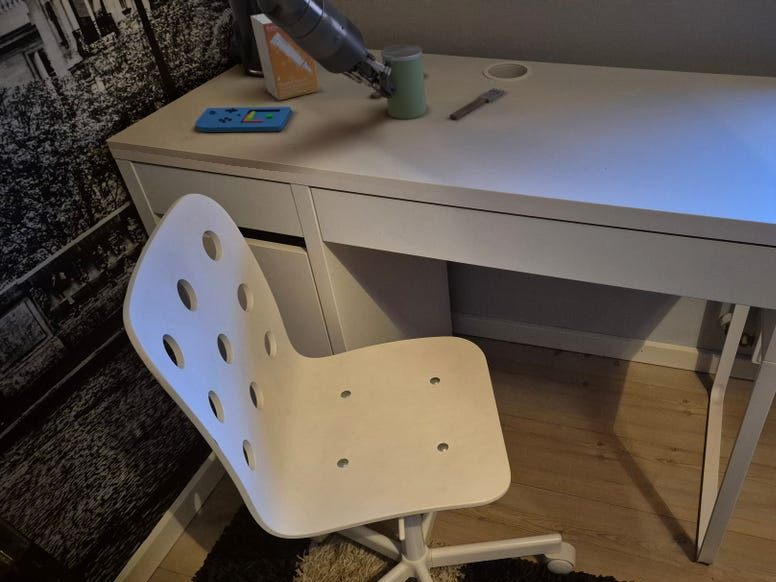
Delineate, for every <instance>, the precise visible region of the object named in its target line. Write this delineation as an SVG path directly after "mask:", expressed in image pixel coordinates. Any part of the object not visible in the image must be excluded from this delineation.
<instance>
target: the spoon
mask: <svg viewBox="0 0 776 582" xmlns="http://www.w3.org/2000/svg"><path fill="white" fill-rule="evenodd" d="M423 74H424V75H425V72H424V71H423ZM369 97H370V98H371V99H375V100H378V99H379V98H381V97H382V96H381V95H380V94H379V93H378V92H377V91H376V90H375V91H374V92H372V93H370V94H369Z"/></svg>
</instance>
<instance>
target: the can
mask: <svg viewBox="0 0 776 582" xmlns="http://www.w3.org/2000/svg"><path fill="white" fill-rule="evenodd" d="M380 56H381V61H382V63H381V64H383V63H386V61H387V62H391V63H392V64H393V72H392V76H391V79H390V82H391V83H392V84H393V85H394V86H395V88H396V89H395V92H394V94H393V97H392V99H388V98H386V106H387V113H388V115H389V116H390V117H392V118H394V119H398V120H410V119H411V120H412V119H417V118H419V117H421V116H423V115H424V114H425V115H426V112H427V100H426V87H425V73H424V74H423V72H424V64H423V62H424V61H423V49H422V47H421V46H418V45H416V44H408V43H401V44H399V43H398V44H393V45H388V46H386V47H384V48H382V49H381V51H380Z"/></svg>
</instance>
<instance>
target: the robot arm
mask: <svg viewBox="0 0 776 582" xmlns="http://www.w3.org/2000/svg"><path fill="white" fill-rule="evenodd" d="M228 2H229V3H228V4H229V6H230V10H231V14H232V18H233V19H232V21H231V27H232V30H233V35H232V37H231V39H230V41H229V42H230V43H229V44H230V49H229V53H230V54H229V55H230V56H231V58H232V60H234V62H235V63H236V64H237V66H238V67H240V66H242V70H243V74H244V75H245V76H256V77H264V73H263V69H262V65H261V60H260V56H259V51H258V47H257V43H256V38H255V34H254V30H253V25H252V21H251V16H254V15H259V14H264V15H265V16H266V17H267V18H268V19H269V20H270V21H272V22H273V23H274V24H275V25H276V26H277V27H279V28H280V29H281V30H282V31H283V32H285V33H286V34H287V35H288V36H289V37H290V38H291V39H292V40H293V41H294V42H295V43H296V44H297V45H298V46H299V47H300V48H301V49H302V50H303V51H304V52H306V53H307V54H308V55H309V56H310V57H312V58H313V59H314V61H315V63H317V64H319V65H320V66H321V67H322V68H323V69H324V70H325V71H327V72H329V73H331V74H334V75H335V74H342V75H343V76H346V77H348V79H351V80H352V81H355V82H356V83H358V84H362V83H363V84H364V85H365V86H366V87H368V88H372V89H373V90H375V92H376V91H377V92H378V93H379V94H380V95H381V97H382V98H384V99H387V98H388V99H392V97H393V94H394V92H395V89H396V88H395V86H394V85H393V84H392V83H391V82H390V79H391V76H392V72H393V64H392V63H391V62H387V61H386V63H383V64H382V63H379V62H378V60H376V57H375V55H373V54H372V52H371V51H370V50H369V49H368V48H366V47H365V41H364V37H363V36H364V35H363V34H362V32H361V30H360V29H359V28H358V27H357V26H356V25H355V24H354V23H353V21H351V19H349V18H348V17H347V16H346V15H345V14H344V13H343V12H342V10H340V9H339V8H338V7H337V5H335V3H333V2H332V1H331V0H228ZM239 57H240V58H239Z"/></svg>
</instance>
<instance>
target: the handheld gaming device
mask: <svg viewBox="0 0 776 582" xmlns="http://www.w3.org/2000/svg"><path fill="white" fill-rule="evenodd" d="M292 114H293V109H292V107H291V106H257V107H255V106H252V107H251V106H247V107H246V106H245V107H241V106H240V107H239V106H238V107H207V108H206V109H205V110H204V111H203V113H202V114H200V116H199V117H198V118H197V119H196V121H195V123H194V125H195V128H196V130H197V131H199V132H203V133H230V132H231V133H234V132H235V133H236V132H239V133H241V132H243V133H245V132H281V131H282V130H283V129H284V128H285V125H286V124H287V122H288V121H289V119H290V117H291V116H292Z"/></svg>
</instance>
